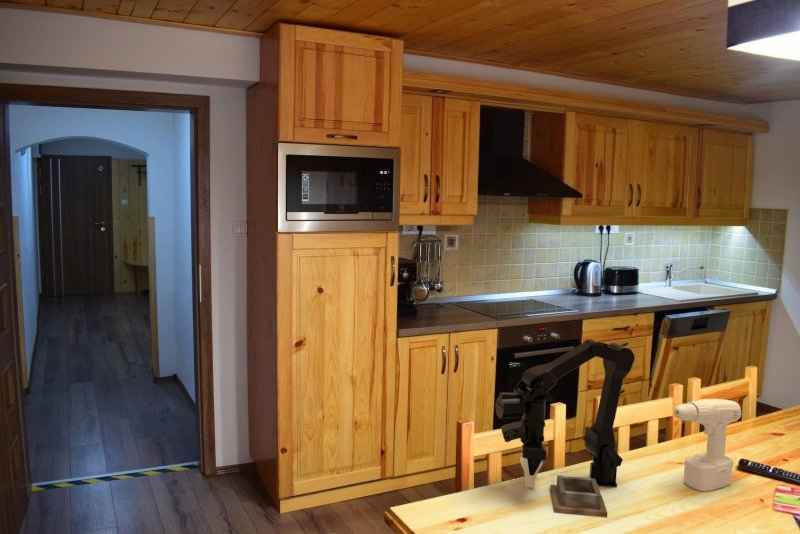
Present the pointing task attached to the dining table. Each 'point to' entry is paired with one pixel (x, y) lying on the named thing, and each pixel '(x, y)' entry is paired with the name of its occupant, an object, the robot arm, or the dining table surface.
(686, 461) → the power drill
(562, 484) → the lamp socket
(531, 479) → the lightbulb
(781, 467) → the dining table surface
